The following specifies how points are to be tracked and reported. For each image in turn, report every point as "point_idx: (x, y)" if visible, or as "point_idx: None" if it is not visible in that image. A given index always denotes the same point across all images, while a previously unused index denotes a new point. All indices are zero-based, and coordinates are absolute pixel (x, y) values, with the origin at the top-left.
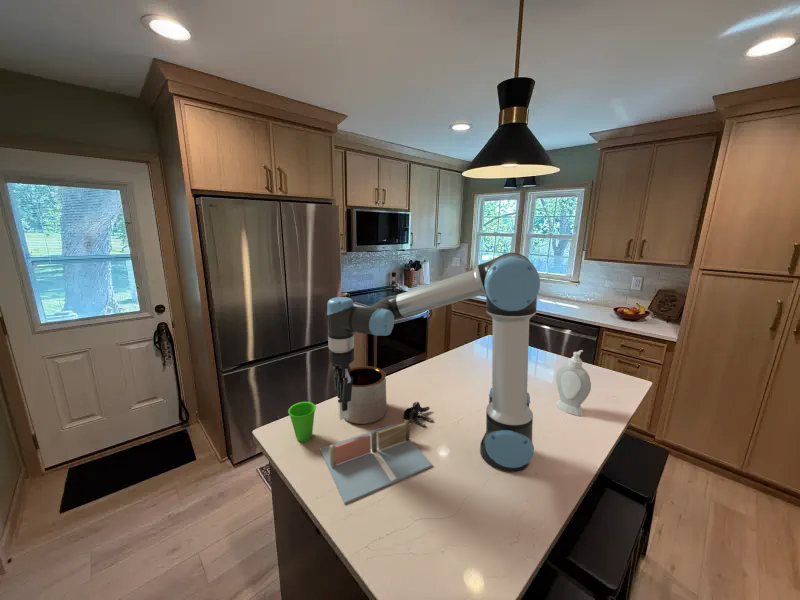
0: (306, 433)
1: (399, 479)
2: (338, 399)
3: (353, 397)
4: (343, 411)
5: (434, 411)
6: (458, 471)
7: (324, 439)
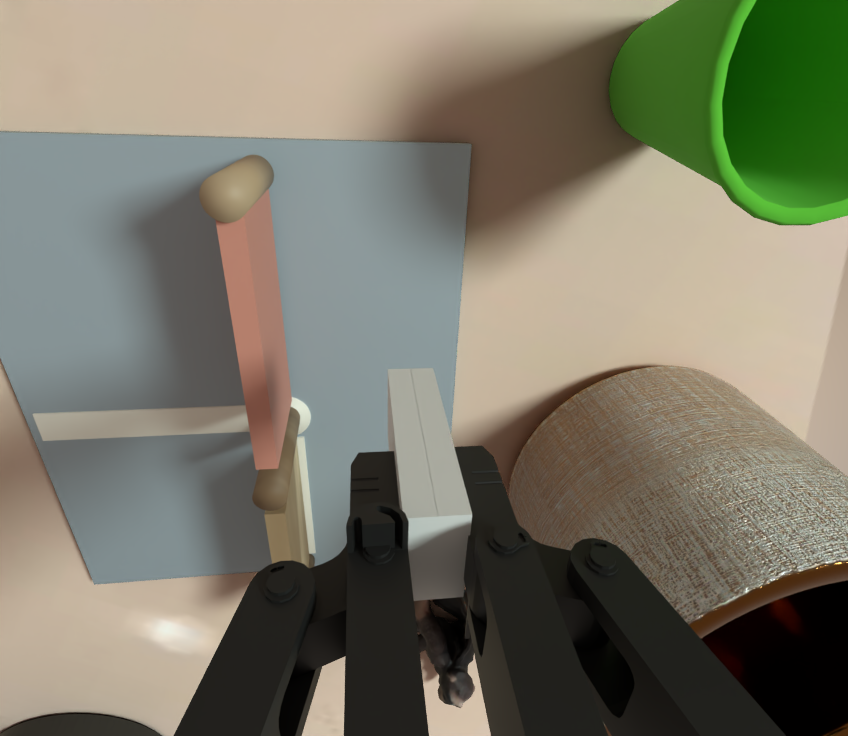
0: (629, 81)
1: (38, 447)
2: (464, 515)
3: (648, 528)
4: (392, 447)
5: (431, 685)
6: (40, 635)
7: (547, 202)
